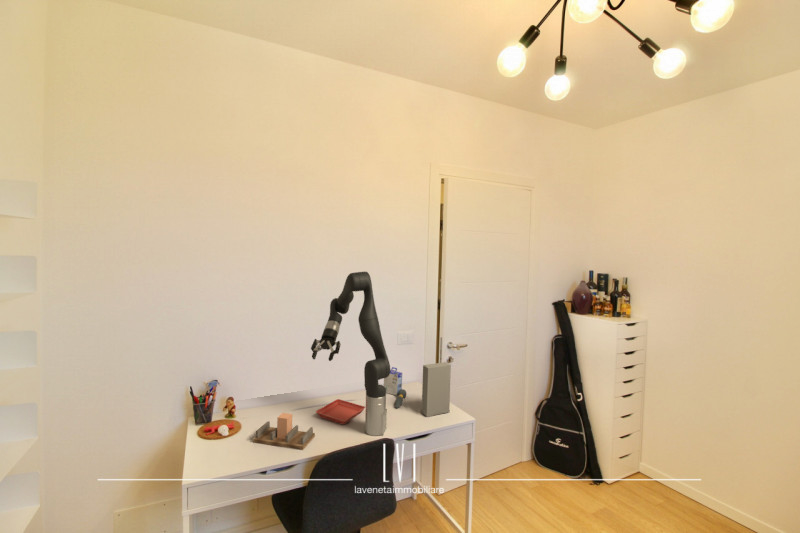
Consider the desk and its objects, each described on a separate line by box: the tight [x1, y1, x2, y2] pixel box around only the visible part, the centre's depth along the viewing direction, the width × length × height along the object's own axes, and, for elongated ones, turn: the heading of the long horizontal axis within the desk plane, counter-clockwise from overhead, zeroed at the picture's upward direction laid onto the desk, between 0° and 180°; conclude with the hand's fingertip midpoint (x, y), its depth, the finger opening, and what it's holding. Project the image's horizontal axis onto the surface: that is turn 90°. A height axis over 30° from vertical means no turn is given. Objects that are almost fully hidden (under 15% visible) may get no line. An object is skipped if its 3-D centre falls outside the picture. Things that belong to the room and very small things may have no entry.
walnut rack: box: [252, 421, 316, 451], centre depth 152 cm, size 23×11×4 cm, turn 78°
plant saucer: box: [315, 398, 366, 425], centre depth 177 cm, size 18×18×3 cm
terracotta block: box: [276, 412, 293, 439], centre depth 152 cm, size 4×4×9 cm
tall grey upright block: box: [420, 361, 452, 418], centre depth 182 cm, size 14×6×25 cm, turn 115°
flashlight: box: [394, 389, 407, 409], centre depth 194 cm, size 20×5×5 cm, turn 174°
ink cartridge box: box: [383, 366, 403, 397], centre depth 206 cm, size 10×6×14 cm, turn 59°
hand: (321, 359), depth 173 cm, fingers open, 8 cm apart
